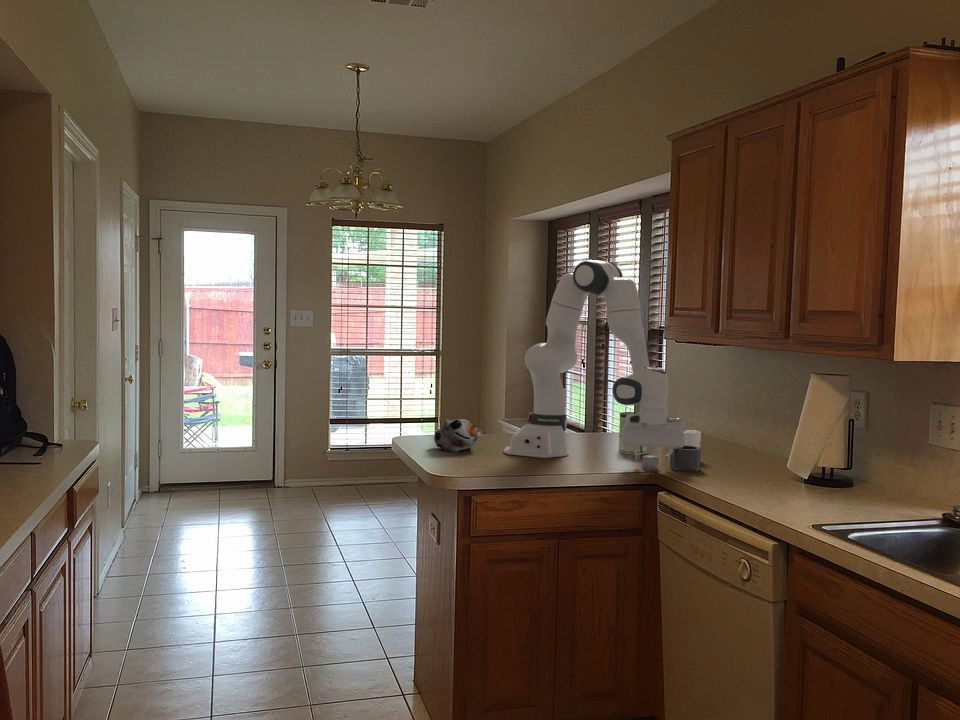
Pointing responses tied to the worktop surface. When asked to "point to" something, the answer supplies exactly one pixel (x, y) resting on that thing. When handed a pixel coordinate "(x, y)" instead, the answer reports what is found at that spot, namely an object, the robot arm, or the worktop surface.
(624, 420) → the coffee can
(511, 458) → the worktop surface
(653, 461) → the cap
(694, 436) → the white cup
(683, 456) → the dark grey cylinder
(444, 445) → the lucky cat figurine
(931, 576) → the worktop surface
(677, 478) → the worktop surface
